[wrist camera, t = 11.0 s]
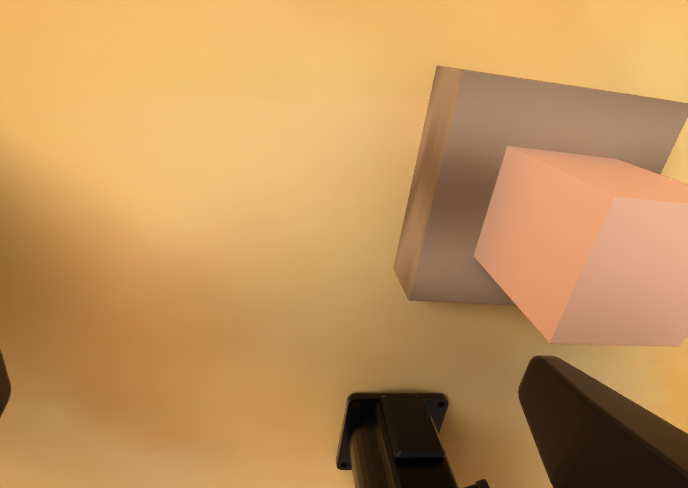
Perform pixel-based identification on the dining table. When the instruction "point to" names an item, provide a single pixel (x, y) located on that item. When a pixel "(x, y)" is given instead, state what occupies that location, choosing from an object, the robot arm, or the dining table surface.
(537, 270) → the terracotta block
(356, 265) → the dining table surface
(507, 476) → the dining table surface
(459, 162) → the walnut base
